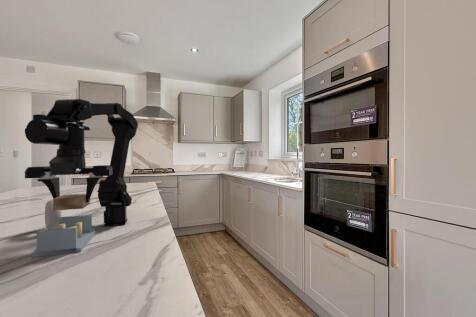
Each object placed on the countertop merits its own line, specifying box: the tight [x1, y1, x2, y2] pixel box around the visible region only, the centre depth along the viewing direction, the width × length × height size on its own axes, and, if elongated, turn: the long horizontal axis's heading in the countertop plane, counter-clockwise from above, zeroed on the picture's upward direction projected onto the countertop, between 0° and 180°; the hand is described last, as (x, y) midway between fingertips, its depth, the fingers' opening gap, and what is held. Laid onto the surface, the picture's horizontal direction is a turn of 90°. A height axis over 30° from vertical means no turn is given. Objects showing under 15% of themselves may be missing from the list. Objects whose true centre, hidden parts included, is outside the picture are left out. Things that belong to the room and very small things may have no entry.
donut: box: [44, 199, 62, 230], centre depth 75 cm, size 10×4×10 cm, turn 46°
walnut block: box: [52, 193, 91, 211], centre depth 64 cm, size 6×6×3 cm
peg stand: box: [31, 214, 97, 258], centre depth 63 cm, size 10×14×6 cm
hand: (72, 203), depth 64 cm, fingers closed on walnut block, 6 cm apart
